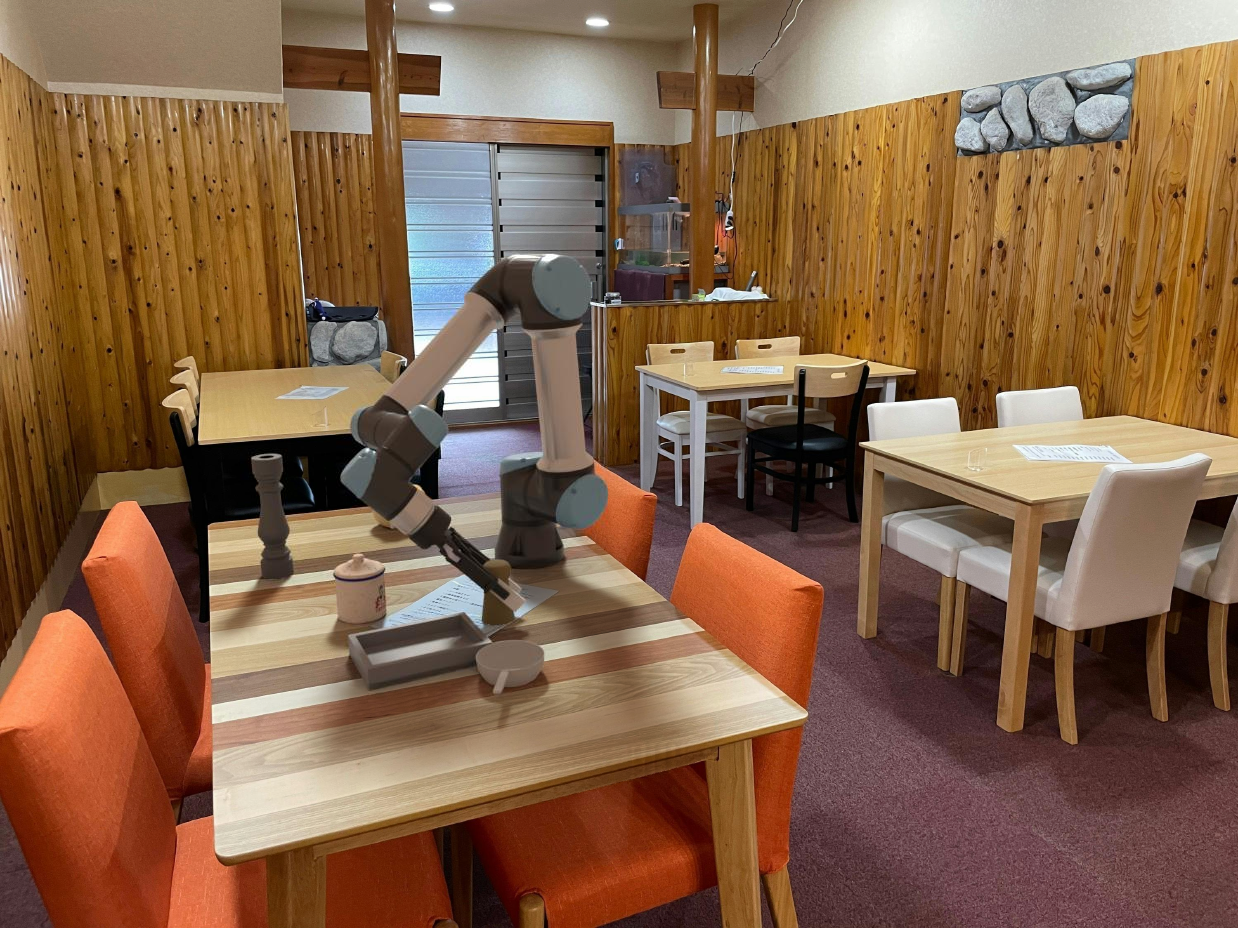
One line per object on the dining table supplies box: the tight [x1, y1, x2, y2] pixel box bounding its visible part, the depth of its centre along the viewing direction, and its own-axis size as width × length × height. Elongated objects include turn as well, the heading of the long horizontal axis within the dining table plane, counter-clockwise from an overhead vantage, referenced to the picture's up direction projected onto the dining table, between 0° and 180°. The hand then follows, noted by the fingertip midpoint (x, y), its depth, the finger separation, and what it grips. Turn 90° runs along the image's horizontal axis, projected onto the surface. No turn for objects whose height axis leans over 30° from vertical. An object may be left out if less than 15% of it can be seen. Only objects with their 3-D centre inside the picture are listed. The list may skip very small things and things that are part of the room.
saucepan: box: [476, 639, 545, 695], centre depth 136 cm, size 11×18×4 cm, turn 178°
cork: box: [481, 559, 516, 626], centre depth 159 cm, size 6×6×11 cm
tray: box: [347, 611, 493, 691], centre depth 145 cm, size 20×14×4 cm
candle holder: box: [250, 453, 295, 580], centre depth 179 cm, size 6×6×25 cm
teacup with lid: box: [332, 553, 387, 625], centre depth 162 cm, size 12×9×12 cm
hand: (517, 599), depth 161 cm, fingers closed on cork, 5 cm apart
